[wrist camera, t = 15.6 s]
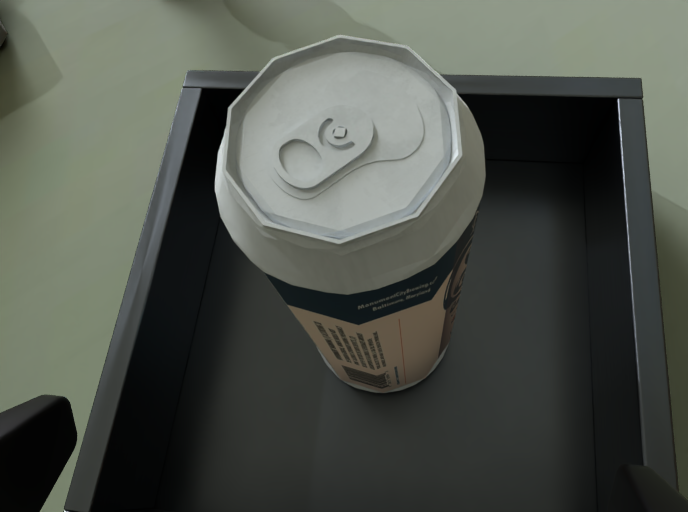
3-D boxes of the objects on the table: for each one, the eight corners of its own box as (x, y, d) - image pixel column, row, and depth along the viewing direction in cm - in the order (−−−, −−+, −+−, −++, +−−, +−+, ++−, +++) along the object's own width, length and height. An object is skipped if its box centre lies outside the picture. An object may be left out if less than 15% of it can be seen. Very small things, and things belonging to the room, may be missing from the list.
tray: (620, 605, 17) (695, 649, 12) (136, 530, 19) (53, 543, 15) (597, 157, 22) (641, 76, 18) (227, 143, 25) (186, 69, 20)
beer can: (478, 339, 19) (561, 144, 8) (369, 424, 19) (301, 335, 8) (393, 241, 21) (368, -26, 10) (291, 316, 20) (144, 118, 9)
